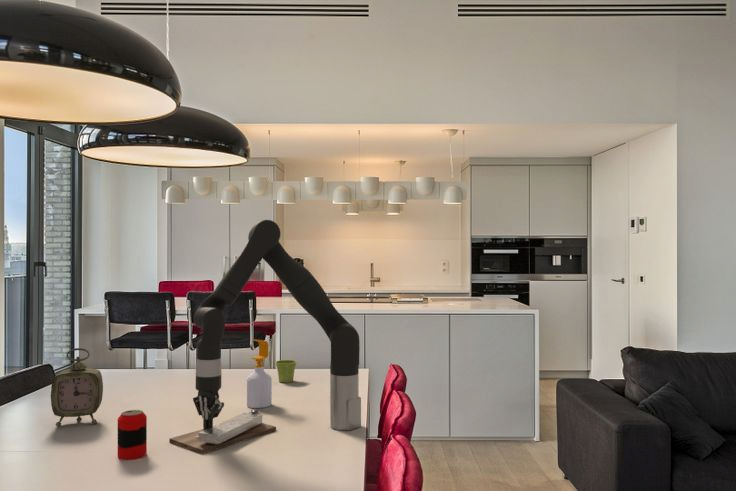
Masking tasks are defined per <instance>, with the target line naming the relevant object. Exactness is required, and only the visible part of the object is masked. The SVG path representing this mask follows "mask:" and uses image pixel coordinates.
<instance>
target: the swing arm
mask: <svg viewBox="0 0 736 491" xmlns="http://www.w3.org/2000/svg"><path fill="white" fill-rule="evenodd" d="M260 423H263V414H262V412H261V411H259V409H251V410H250V412H242V413H240V414H239V415H236V416H233V417H231V418H229V419H226V420H225V421H222V422H220V423H218V424H216V425H213V427H211V428H208V429H206V430H204V431H202V432H199V441H200V442H207V443H214V444H220V443H222V442H224V441H226V440H228V439H230V438H232V437H234V436H236V435H238V434H240V433H242V432H244V431H246V430H248V429H250V428H252V427H254V426H256V425H258V424H260Z"/></svg>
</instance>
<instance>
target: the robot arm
mask: <svg viewBox="0 0 736 491" xmlns="http://www.w3.org/2000/svg"><path fill="white" fill-rule="evenodd" d="M247 236H248V237H247V240H248V241H247V243H246V245H245V247H244V248H243V250H242V252H241V253H240V254H239V256H238V258H237V259H236V260H235V261H234V263H232V265H231V267H230V268H229V269H228V270H227V271H226V272H225V274H224V276H223V277H222V278H221V279H220V281H219V282H218V284H217V286H216V287H215V289H214V290H213V292H212V293H211V294H210V295H208V296H207V298H205V299H204V301H203V302H201V303H200V305H199V306H198V308H197V309H196V310H195V312H194V317H193V322H194V324H195V326H196V327H197V328H198V329H201V330H202V333H201V334H202V336H201V339H199V340H198V341H197V346H196V363H195V390H196V391H197V395H196V396H195V397H193V398H192V401H193V403H194V406H195V409H196V411H197V413H198V415H199V416H201V418H202V420H203V421H202V422H203V426H202V427H203V430H206V429H208V428H211V427H213V426H214V419H215V418H218V416H219V415H220V414H221V412H222V410H223V408H224V406H225V403H224V402H223V401H220V395H219V390H221V388H222V372H223V371H222V343H223V342H222V341H223V338H224V332H225V328H226V317H225V314H224V312H223V311H224V310H225V309H226V308H227V307H230V306H233V304H234V303H235V302H236V301H237V299H238V297H239V295H240V294H241V293H242V291H243V289H244V288H245V287H246V285H247V283H248V281H249V279H250V278H251V276H252V274H254V271H255V270H256V268H257V267H258V265H259V264H260V262H261V261H262V260H264V261H265V262H266V264H268V266H269V267H270V268H271V269H272V270H273V272H274V273H275V275H276V276H277V277H278V279H279V280H280V281H281V283H282V284H283V285H284V286H285V288H286V289H287V291H288V292H289V293H290V295H291V296H292V297H293V298H294V300H295V301H296V302H297V303H298V305H300V306H301V307H302V309H304V311H306V312H307V314H309V316H311V317H312V318H313V319H314V320H315V321H316V322H317V323H318V325H320V327H321V329H322V330H323V332H324V333H325V334H326V336H327V338H328V340H329V341H330V366H329V368H330V370H329V372H330V375H329V382H330V383H329V388H330V390H329V394H330V395H329V397H330V398H329V399H330V400H329V404H330V406H329V408H330V409H329V411H330V414H329V418H330V419H329V420H330V428H331V429H334V430H339V431H349V432H350V431H351V430H354V429H357V428H360V427H362V397H361V396H359V380H360V379H359V378H360V377H359V374H360V372H359V371H360V370H359V369H360V347H361V346H360V342H361V341H360V335H359V333H358V332H359V331H357V329H356V328H355V327H354V326H353V325H352V324H351V323H349V321H348V320H347V319H345V317H344V316H343V315H342V314H341V313H340V312H339V311H338V310H337V308H336V307H335V306H334V304H333V303H332V301H331V300H330V298H329V296H328V294H327V293H326V291H325V290H324V288H323V287H322V286H321V283H319V282H318V280H317V279H316V277H314V275H313V274H312V273H311V272H310V270H308V268H306V267H305V266H304V265H303V264H302V263H300V262H298V261H297V260H296V259H294V258H293V257H292V256H291V255H290V254H289V253H288V252H287V251H286V250H285V248H284V246H283V245H282V244H281V243H280V239H281V229H280V227H279V225H278V223H276V222H275V221H274V220H272V219H262V220H260V221H258V222H257V223H255V224H254V225H253V226H252V228H251V229H250V230H249V232H248V235H247Z"/></svg>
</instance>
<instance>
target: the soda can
mask: <svg viewBox="0 0 736 491" xmlns="http://www.w3.org/2000/svg"><path fill="white" fill-rule="evenodd" d="M147 417H148V416H147V414H146V413H145V412H144V411H143V410H140V409H131V410H125V411H123V412H122V413H121V414H119V416H118V418H117V458H118V459H120V460H122V461H132V460H138V459H141V458H143V457H145V456H146V455H147V452H148V451H147V450H148V449H147V448H148V447H147V444H148V443H147V440H148V439H147V438H148V437H147V433H148V431H147V427H148V426H147V425H148V424H147V422H148V421H147V419H148V418H147Z"/></svg>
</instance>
